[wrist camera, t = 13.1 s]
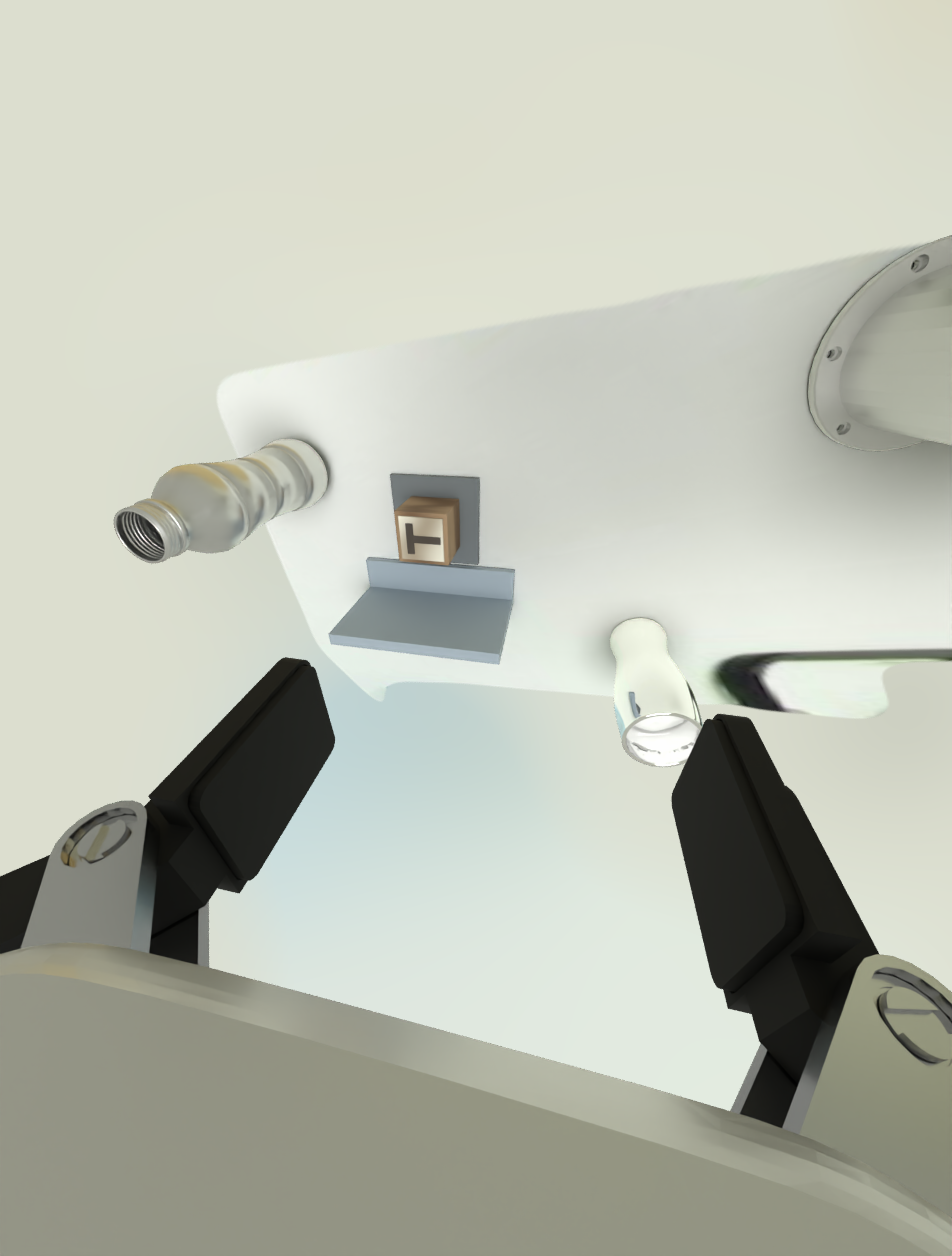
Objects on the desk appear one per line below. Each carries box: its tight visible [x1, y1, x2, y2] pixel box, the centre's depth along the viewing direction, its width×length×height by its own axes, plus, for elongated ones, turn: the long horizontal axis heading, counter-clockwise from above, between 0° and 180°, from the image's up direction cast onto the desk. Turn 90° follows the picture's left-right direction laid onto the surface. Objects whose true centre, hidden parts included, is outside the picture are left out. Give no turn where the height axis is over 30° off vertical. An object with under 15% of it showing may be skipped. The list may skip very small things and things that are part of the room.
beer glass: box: [610, 618, 703, 767], centre depth 40 cm, size 7×7×15 cm
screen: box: [329, 557, 515, 664], centre depth 42 cm, size 17×5×11 cm, turn 89°
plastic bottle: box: [114, 439, 328, 563], centre depth 34 cm, size 6×7×20 cm
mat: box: [390, 473, 479, 565], centre depth 42 cm, size 9×9×1 cm
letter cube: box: [394, 496, 460, 565], centre depth 40 cm, size 5×5×5 cm
